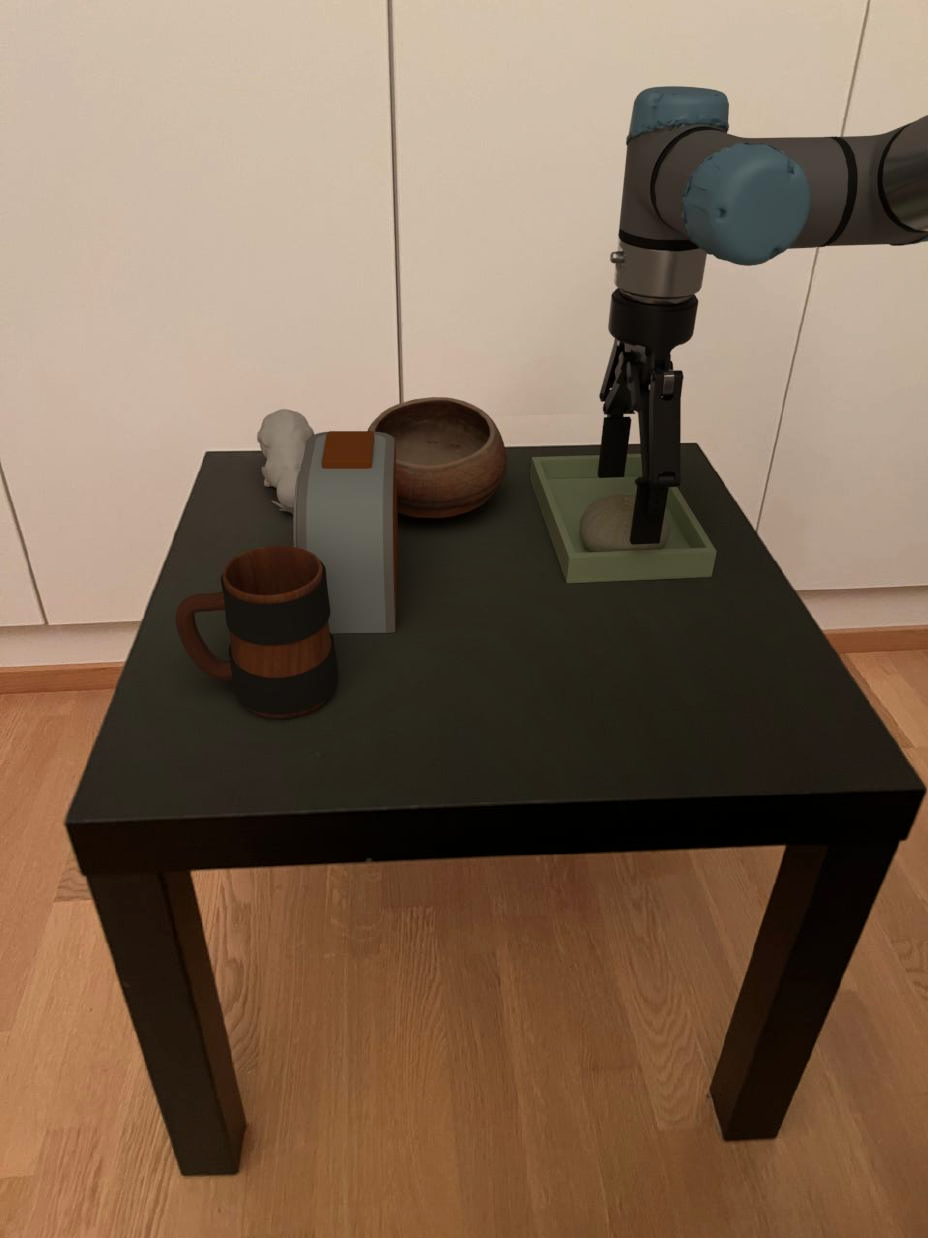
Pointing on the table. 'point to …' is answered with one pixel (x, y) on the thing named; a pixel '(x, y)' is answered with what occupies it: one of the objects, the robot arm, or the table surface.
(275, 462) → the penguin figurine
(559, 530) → the tray
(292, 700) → the mug
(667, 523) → the sea urchin shell
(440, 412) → the bowl
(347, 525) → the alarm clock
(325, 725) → the table surface
